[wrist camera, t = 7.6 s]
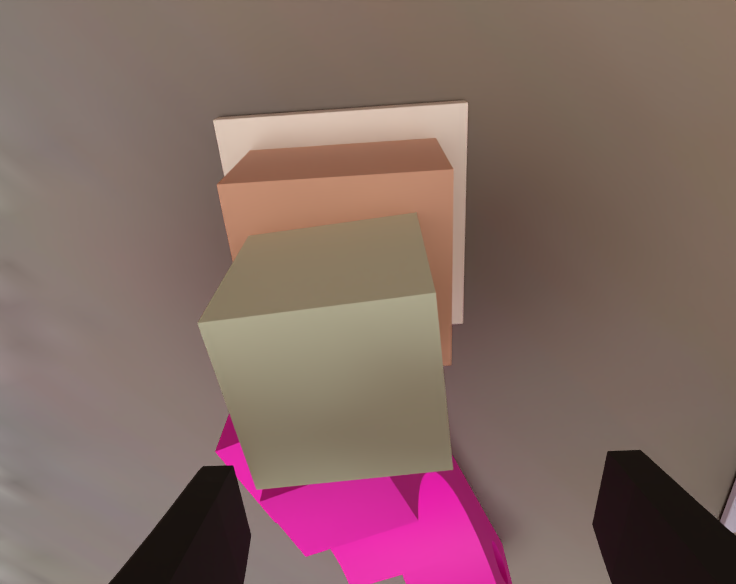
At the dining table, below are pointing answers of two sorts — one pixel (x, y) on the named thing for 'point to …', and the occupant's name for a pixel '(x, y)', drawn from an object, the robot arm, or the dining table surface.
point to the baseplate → (363, 127)
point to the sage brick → (332, 353)
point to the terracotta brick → (348, 198)
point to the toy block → (385, 523)
